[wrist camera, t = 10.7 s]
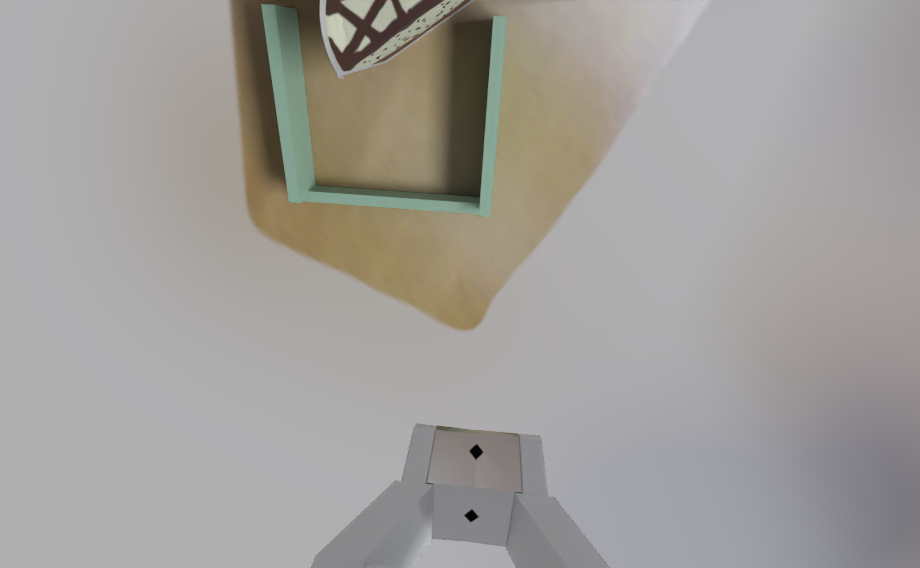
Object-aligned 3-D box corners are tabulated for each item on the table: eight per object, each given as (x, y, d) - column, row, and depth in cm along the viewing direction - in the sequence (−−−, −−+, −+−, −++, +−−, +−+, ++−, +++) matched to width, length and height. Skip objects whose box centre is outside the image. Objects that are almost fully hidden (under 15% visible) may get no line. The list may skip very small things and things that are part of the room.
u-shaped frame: (284, 8, 36) (261, 4, 32) (506, 19, 35) (507, 16, 31) (306, 194, 43) (289, 207, 40) (490, 208, 42) (489, 222, 39)
